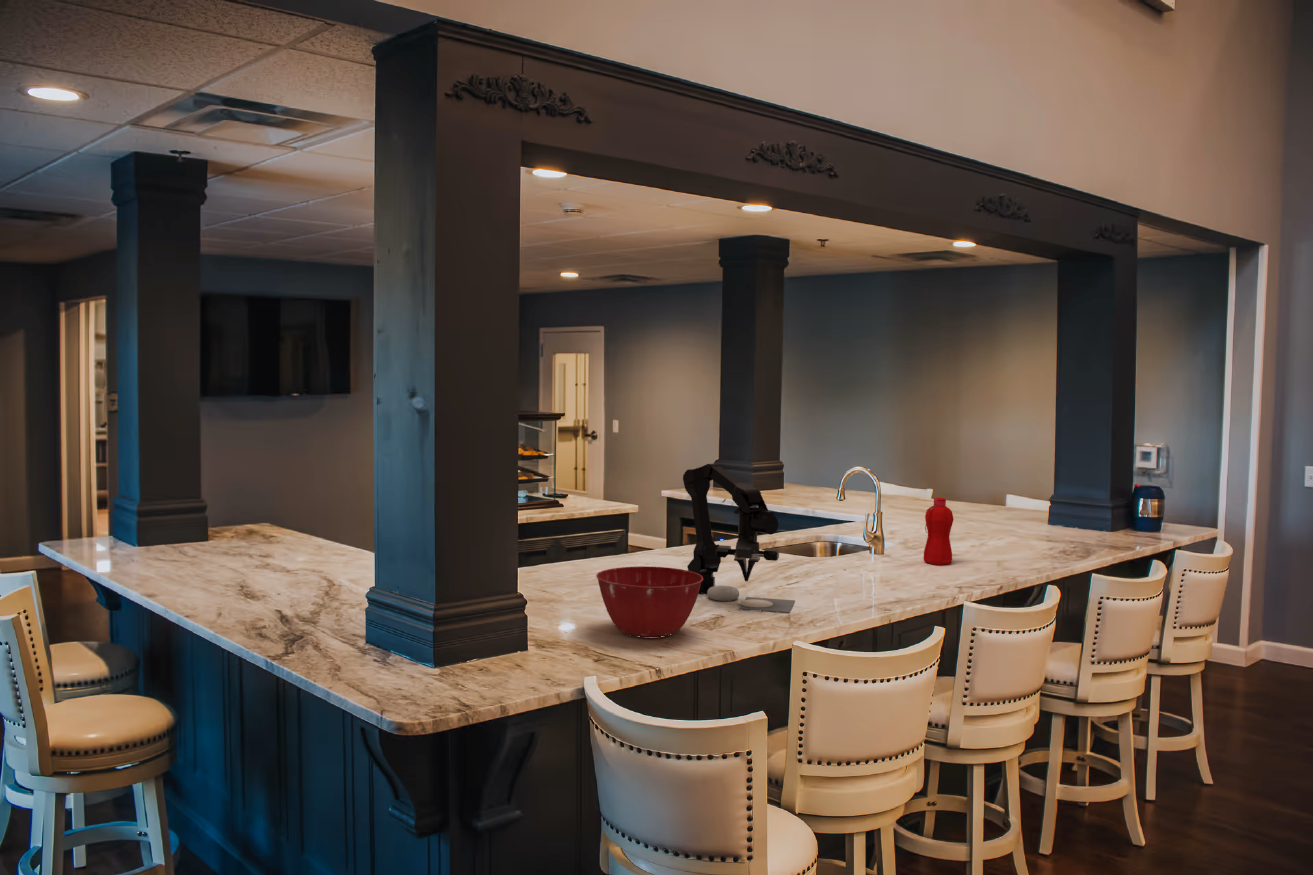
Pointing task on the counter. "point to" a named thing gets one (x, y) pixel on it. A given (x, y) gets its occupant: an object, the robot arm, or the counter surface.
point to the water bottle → (938, 533)
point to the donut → (723, 593)
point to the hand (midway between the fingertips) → (746, 581)
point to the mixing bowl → (649, 598)
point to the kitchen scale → (767, 604)
